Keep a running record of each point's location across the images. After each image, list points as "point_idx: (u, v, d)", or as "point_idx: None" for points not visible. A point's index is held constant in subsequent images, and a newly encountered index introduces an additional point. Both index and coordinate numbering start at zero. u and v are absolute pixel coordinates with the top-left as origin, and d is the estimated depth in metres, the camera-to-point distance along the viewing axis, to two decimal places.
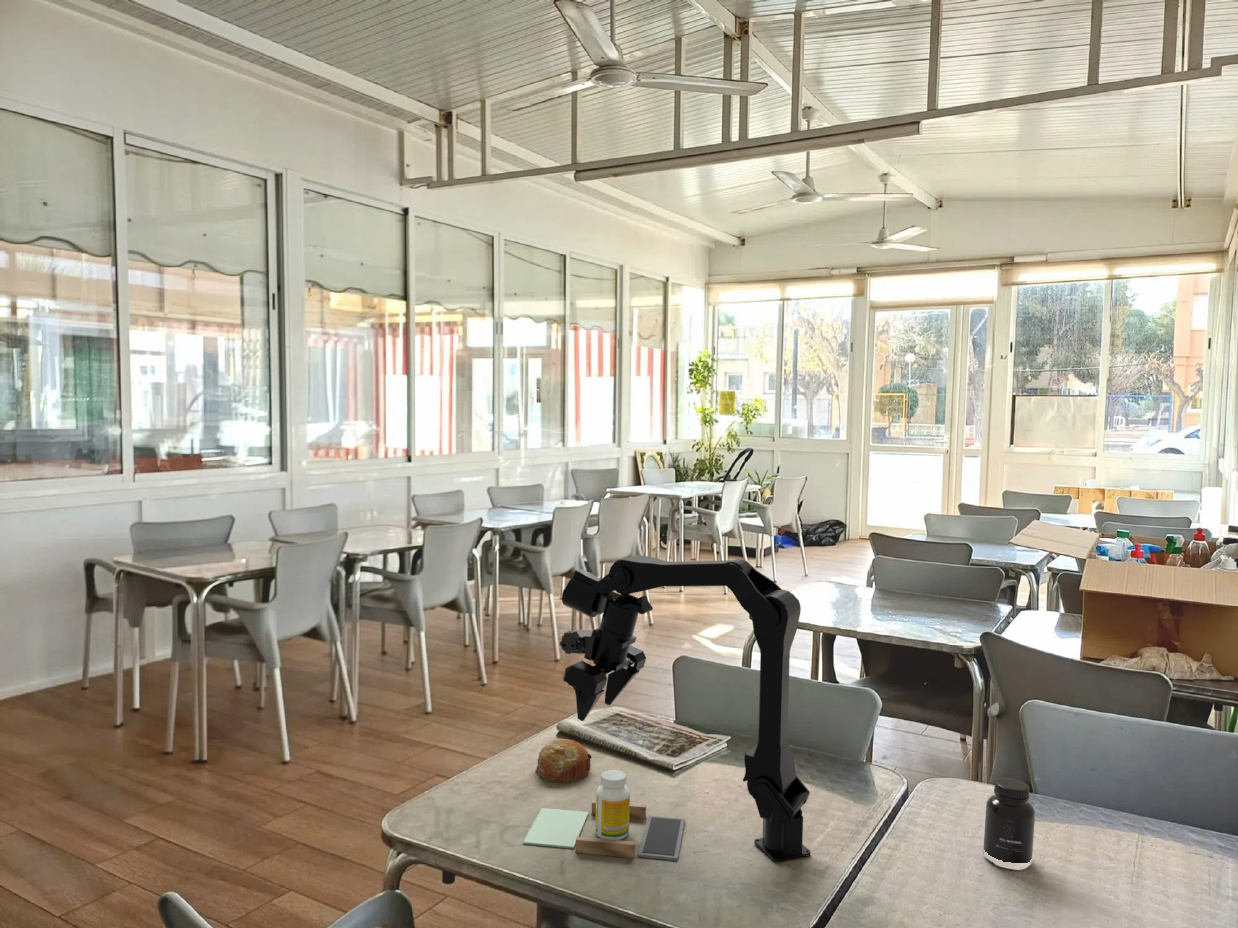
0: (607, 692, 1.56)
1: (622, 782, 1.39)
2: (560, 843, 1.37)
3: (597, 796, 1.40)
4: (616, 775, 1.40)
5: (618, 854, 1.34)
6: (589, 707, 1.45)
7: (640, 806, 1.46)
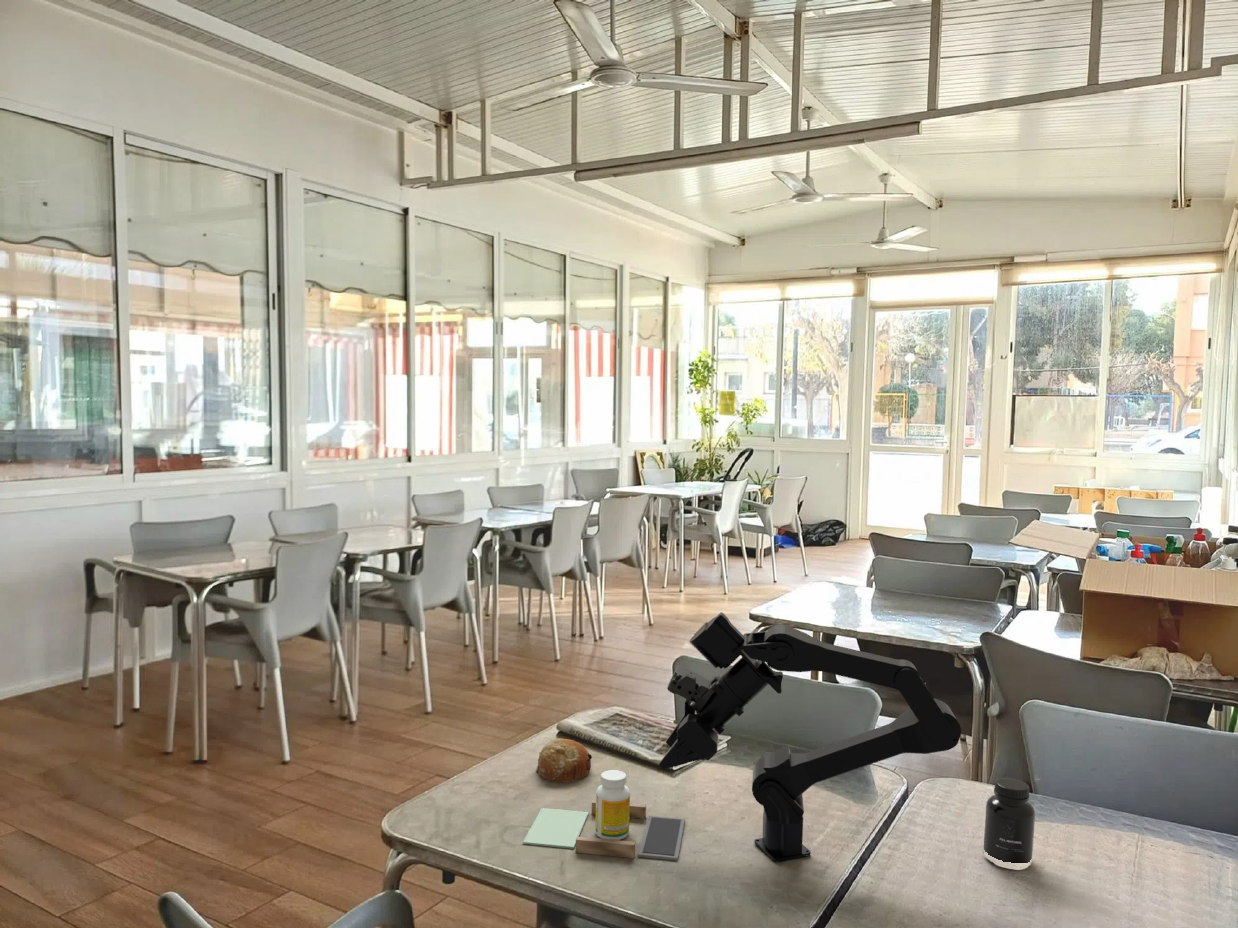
0: (674, 733, 1.43)
1: (622, 782, 1.39)
2: (560, 843, 1.37)
3: (597, 796, 1.40)
4: (616, 775, 1.40)
5: (618, 854, 1.34)
6: (682, 762, 1.33)
7: (640, 806, 1.46)
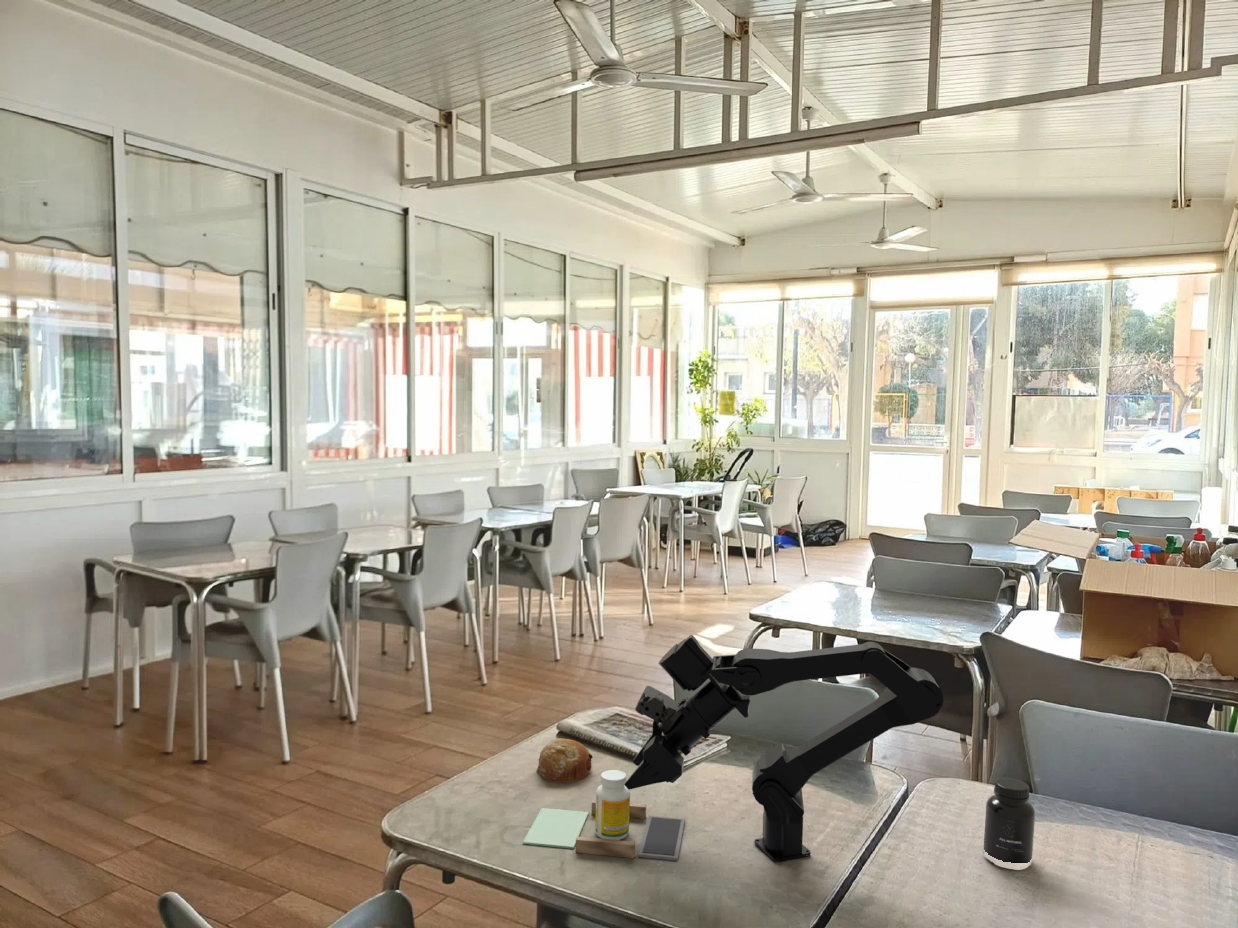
0: (641, 752, 1.44)
1: (622, 782, 1.39)
2: (560, 843, 1.37)
3: (597, 796, 1.40)
4: (616, 775, 1.40)
5: (618, 854, 1.34)
6: (648, 783, 1.34)
7: (640, 806, 1.46)
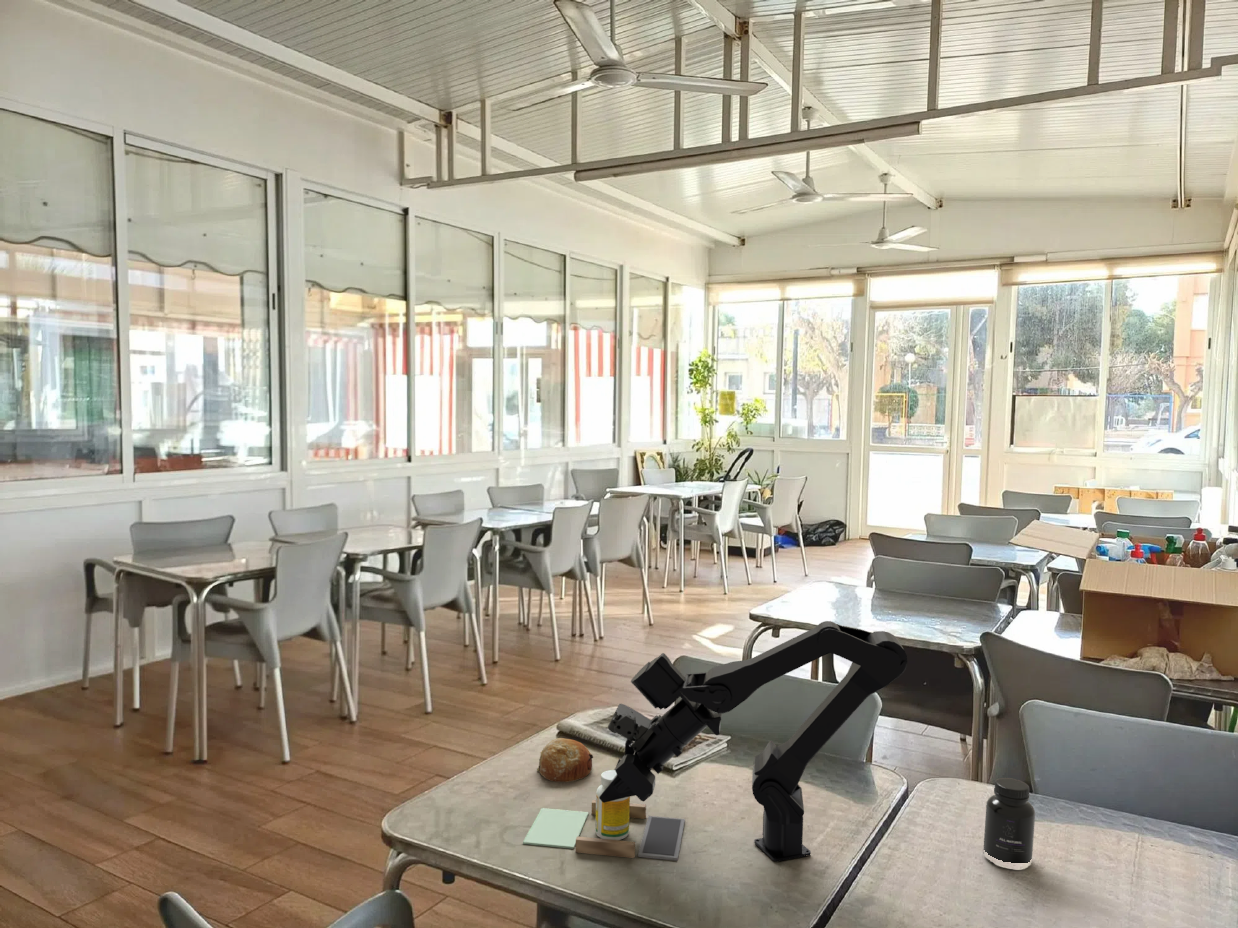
0: None
1: None
2: (560, 843, 1.37)
3: (597, 796, 1.40)
4: None
5: (618, 854, 1.34)
6: (621, 796, 1.36)
7: (640, 806, 1.46)
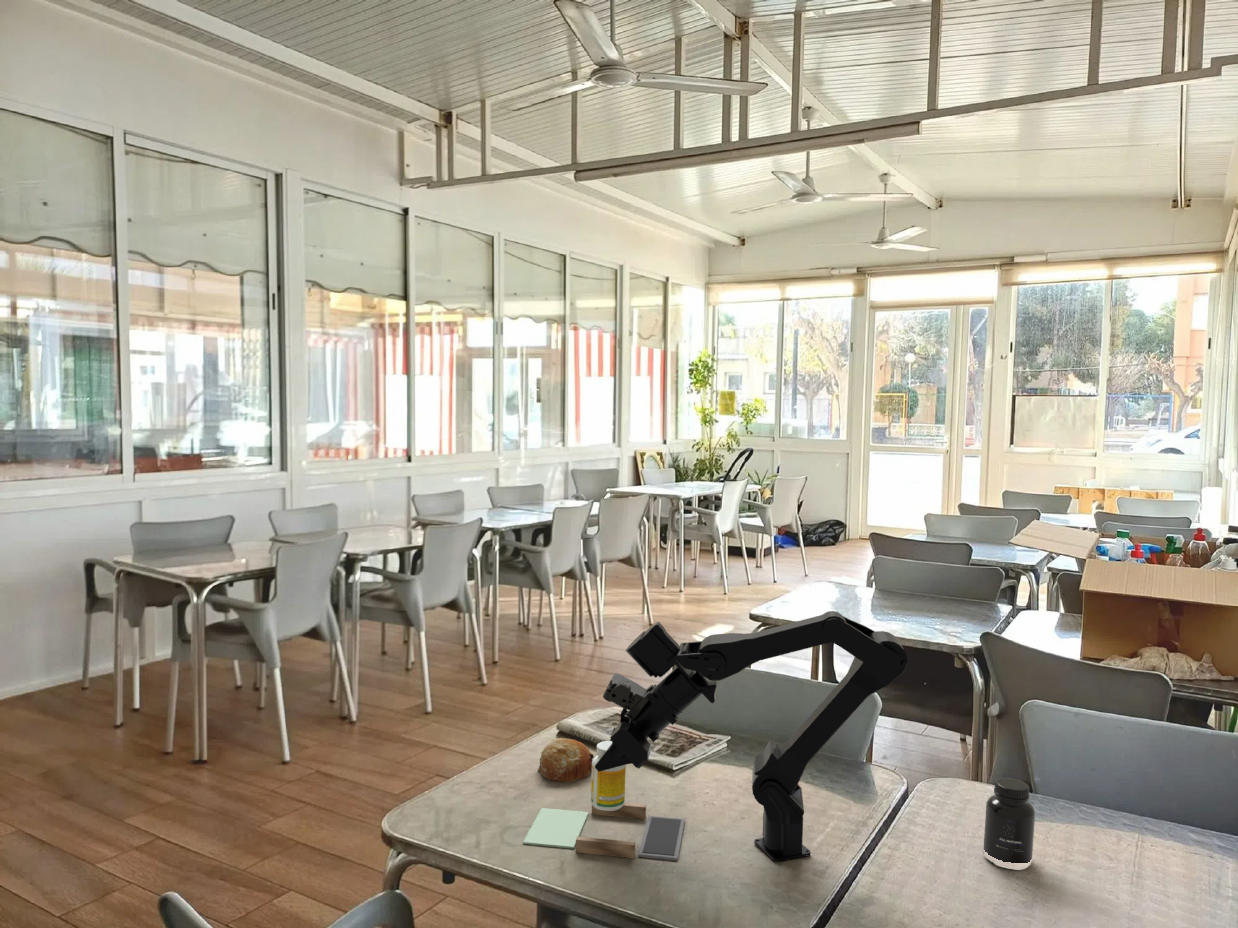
0: None
1: None
2: (560, 843, 1.37)
3: (593, 766, 1.39)
4: None
5: (618, 854, 1.34)
6: (617, 765, 1.36)
7: (640, 806, 1.46)
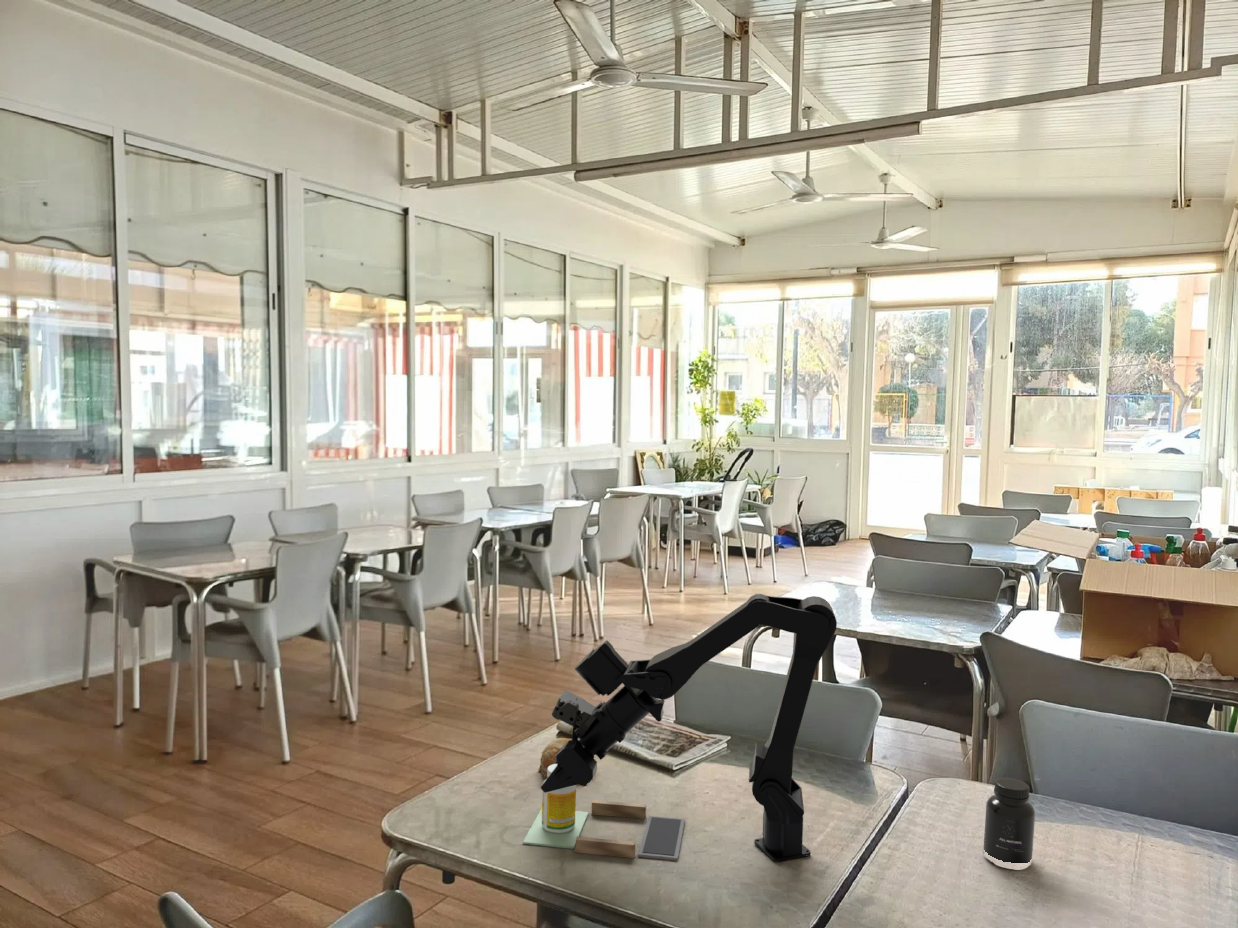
0: None
1: None
2: (560, 843, 1.37)
3: None
4: None
5: (618, 854, 1.34)
6: (562, 786, 1.36)
7: (640, 806, 1.46)
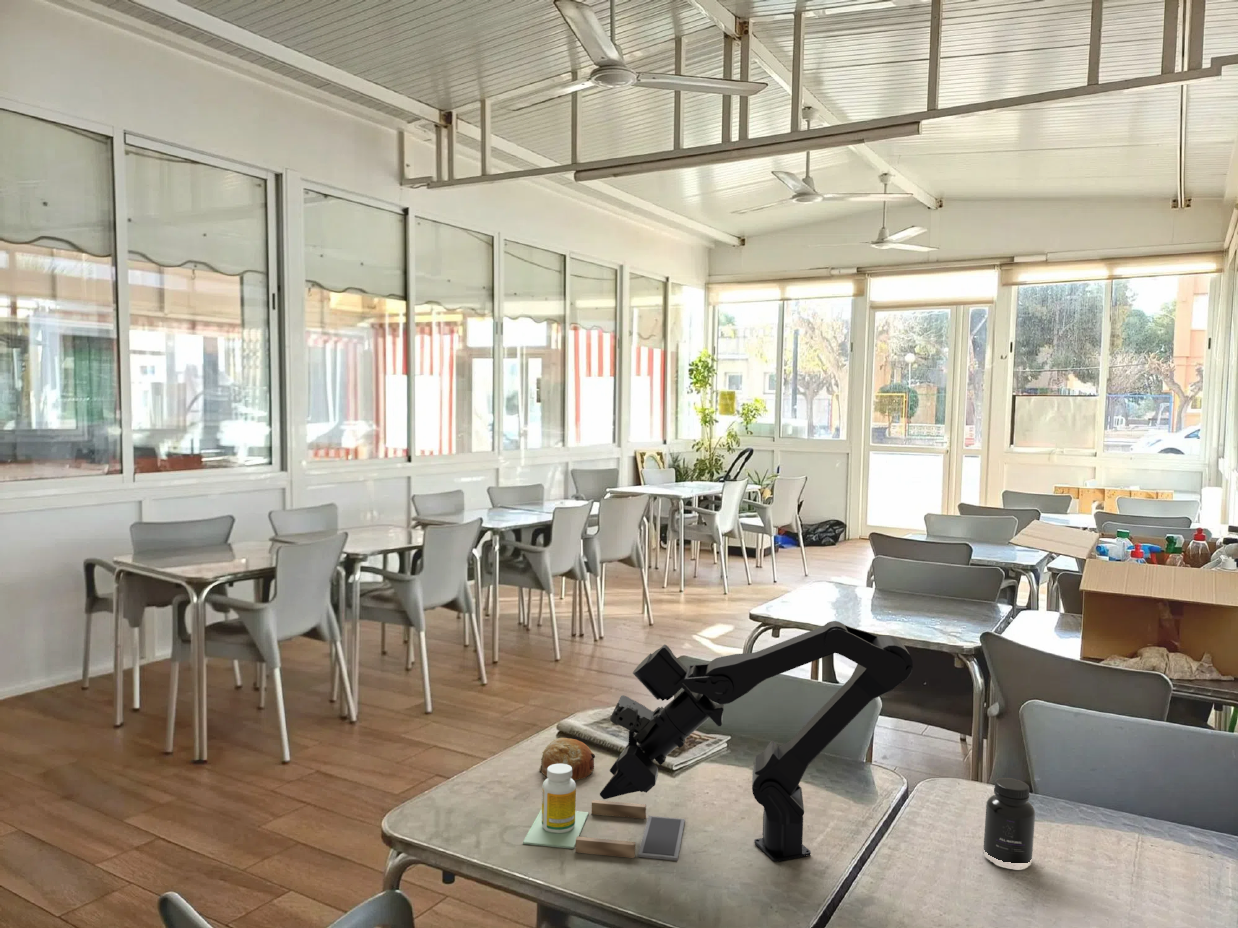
0: None
1: (567, 775, 1.40)
2: (560, 843, 1.37)
3: (543, 789, 1.41)
4: (562, 768, 1.42)
5: (618, 854, 1.34)
6: (622, 793, 1.34)
7: (640, 806, 1.46)
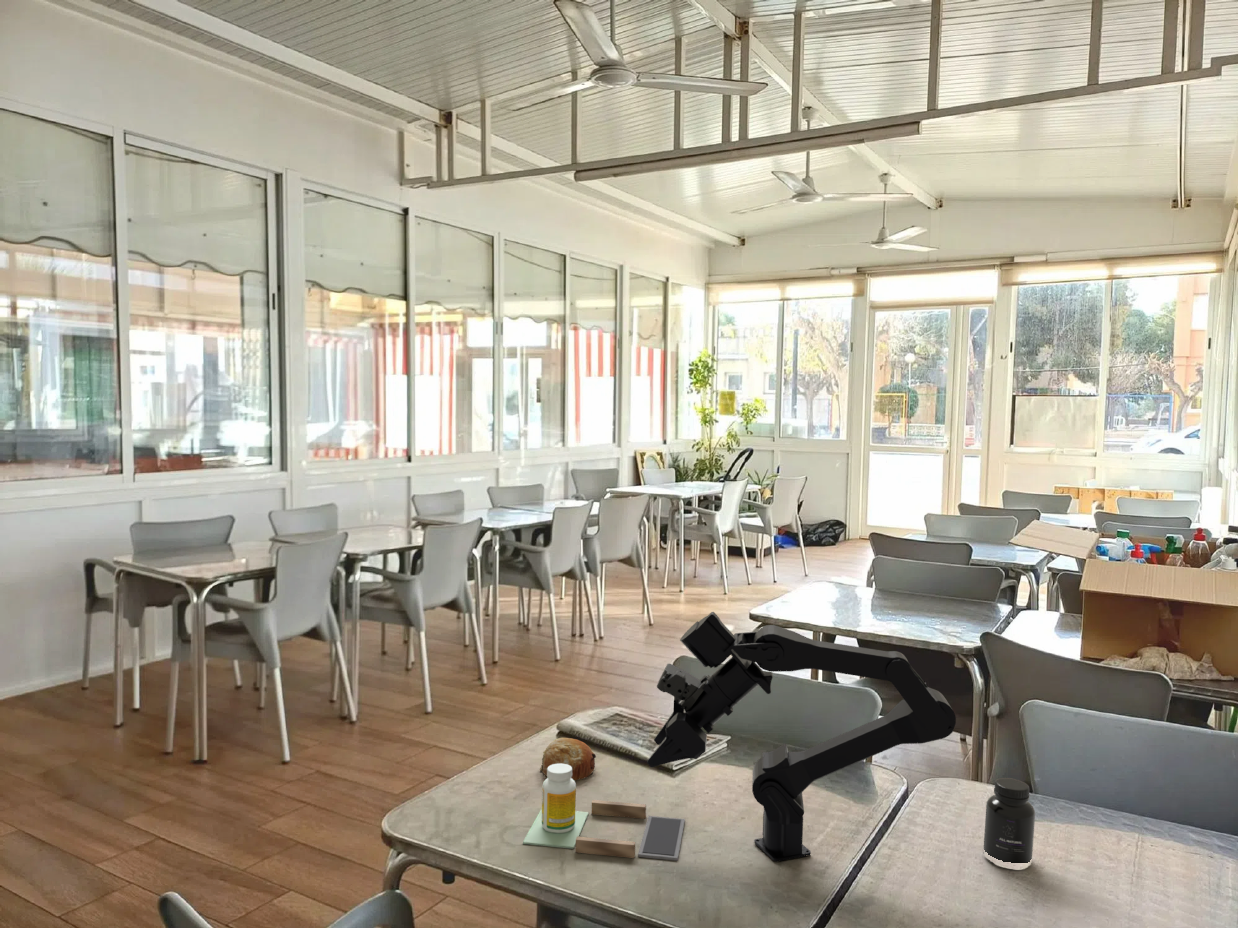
0: (662, 731, 1.43)
1: (567, 775, 1.40)
2: (560, 843, 1.37)
3: (543, 789, 1.41)
4: (562, 768, 1.42)
5: (618, 854, 1.34)
6: (670, 760, 1.33)
7: (640, 806, 1.46)
